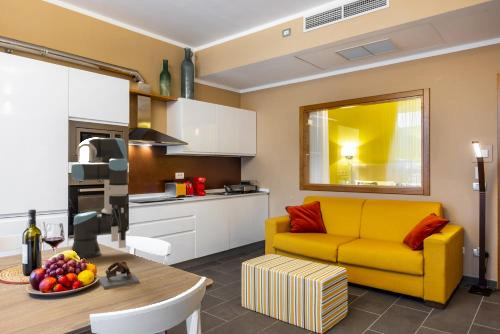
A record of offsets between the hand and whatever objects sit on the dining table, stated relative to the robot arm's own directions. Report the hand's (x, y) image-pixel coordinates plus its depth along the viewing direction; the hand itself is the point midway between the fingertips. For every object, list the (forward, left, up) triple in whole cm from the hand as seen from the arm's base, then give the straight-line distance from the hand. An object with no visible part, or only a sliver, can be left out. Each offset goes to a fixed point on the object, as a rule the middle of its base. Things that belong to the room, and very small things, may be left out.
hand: (118, 244), depth 149 cm
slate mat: (0, 0, -16) cm, 16 cm away
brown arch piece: (0, +1, -15) cm, 15 cm away
